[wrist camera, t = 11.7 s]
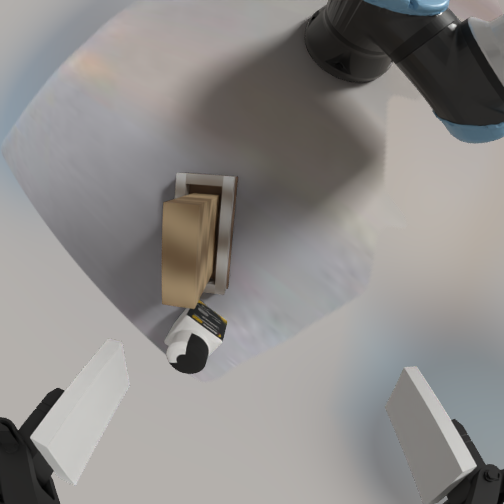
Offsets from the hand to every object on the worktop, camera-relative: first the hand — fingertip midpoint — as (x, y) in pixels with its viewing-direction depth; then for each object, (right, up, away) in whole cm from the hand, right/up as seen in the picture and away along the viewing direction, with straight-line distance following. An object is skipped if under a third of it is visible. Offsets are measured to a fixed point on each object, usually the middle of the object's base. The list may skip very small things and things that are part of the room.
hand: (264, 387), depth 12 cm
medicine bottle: (-10, -6, +39) cm, 40 cm away
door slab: (-8, +9, +33) cm, 35 cm away
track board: (-8, +9, +34) cm, 36 cm away
